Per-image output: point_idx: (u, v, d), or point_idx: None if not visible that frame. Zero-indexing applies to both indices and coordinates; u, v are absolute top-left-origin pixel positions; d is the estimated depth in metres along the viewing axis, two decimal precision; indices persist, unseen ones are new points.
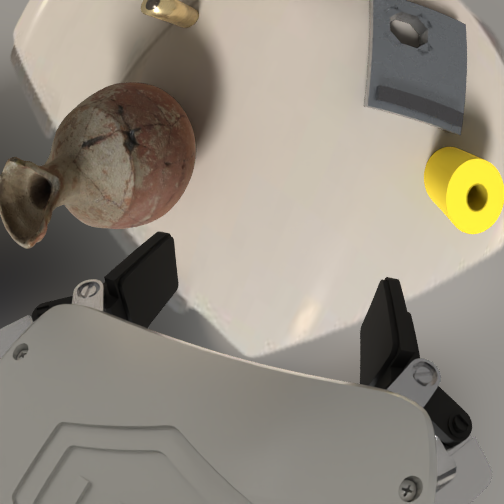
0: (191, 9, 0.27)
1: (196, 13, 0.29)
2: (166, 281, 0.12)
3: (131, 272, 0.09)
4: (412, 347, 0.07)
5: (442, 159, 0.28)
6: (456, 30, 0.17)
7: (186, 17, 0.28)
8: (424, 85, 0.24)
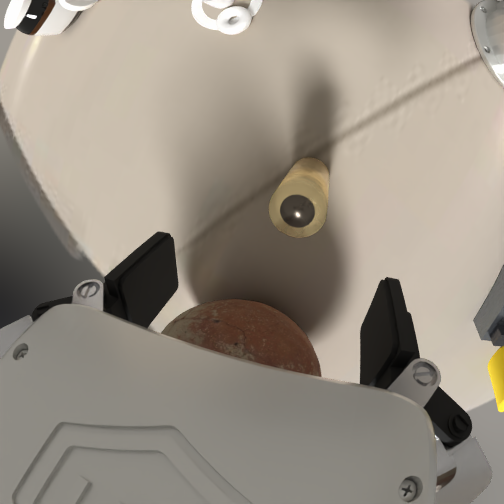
0: (328, 179, 0.24)
1: None
2: (166, 281, 0.12)
3: (131, 272, 0.09)
4: (412, 347, 0.07)
5: None
6: None
7: None
8: None
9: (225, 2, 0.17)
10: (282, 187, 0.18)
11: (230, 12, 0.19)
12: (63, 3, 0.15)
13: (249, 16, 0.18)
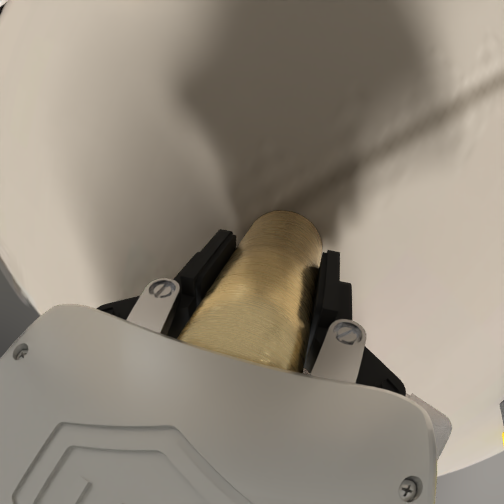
0: (318, 266, 0.12)
1: None
2: None
3: (207, 270, 0.10)
4: (335, 307, 0.08)
5: None
6: None
7: None
8: None
9: None
10: None
11: None
12: None
13: None
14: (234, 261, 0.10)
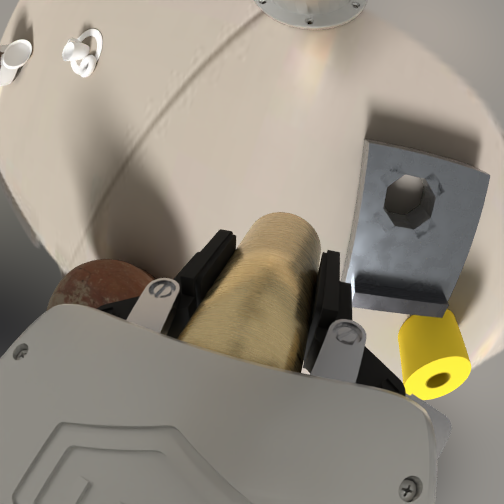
0: (316, 268, 0.12)
1: (319, 257, 0.13)
2: None
3: (207, 270, 0.10)
4: (335, 307, 0.08)
5: (415, 336, 0.30)
6: (475, 189, 0.20)
7: None
8: (411, 274, 0.26)
9: (79, 56, 0.25)
10: None
11: (84, 61, 0.26)
12: (6, 65, 0.23)
13: (92, 61, 0.26)
14: (233, 263, 0.10)
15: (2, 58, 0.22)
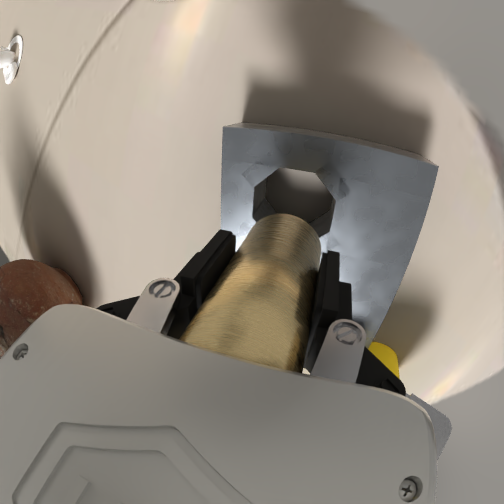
0: (317, 270, 0.12)
1: (320, 258, 0.13)
2: None
3: (207, 270, 0.10)
4: (335, 307, 0.08)
5: None
6: (409, 189, 0.15)
7: None
8: None
9: (4, 64, 0.18)
10: None
11: (9, 68, 0.19)
12: None
13: (13, 68, 0.19)
14: (234, 265, 0.10)
15: None
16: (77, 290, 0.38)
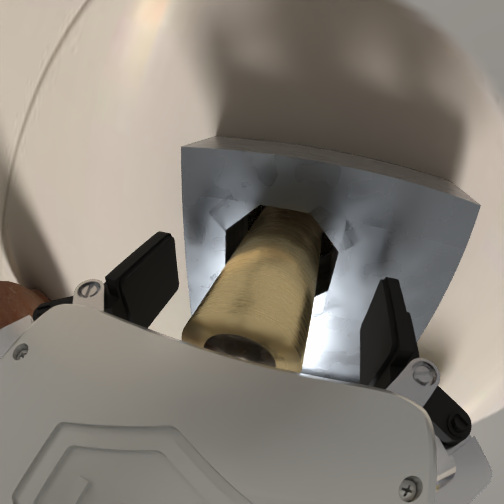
0: (320, 242, 0.14)
1: None
2: (167, 281, 0.12)
3: (132, 272, 0.09)
4: (411, 347, 0.07)
5: None
6: (440, 237, 0.10)
7: None
8: None
9: None
10: (200, 318, 0.08)
11: None
12: None
13: None
14: (252, 233, 0.12)
15: None
16: None
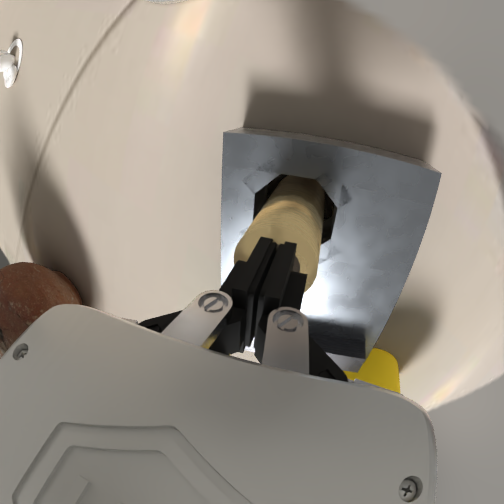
0: (323, 204, 0.18)
1: None
2: None
3: (258, 280, 0.09)
4: (277, 295, 0.08)
5: None
6: (411, 196, 0.14)
7: None
8: (308, 313, 0.21)
9: (4, 67, 0.18)
10: (251, 233, 0.12)
11: (9, 72, 0.19)
12: None
13: (12, 72, 0.19)
14: (275, 194, 0.17)
15: None
16: (77, 293, 0.38)
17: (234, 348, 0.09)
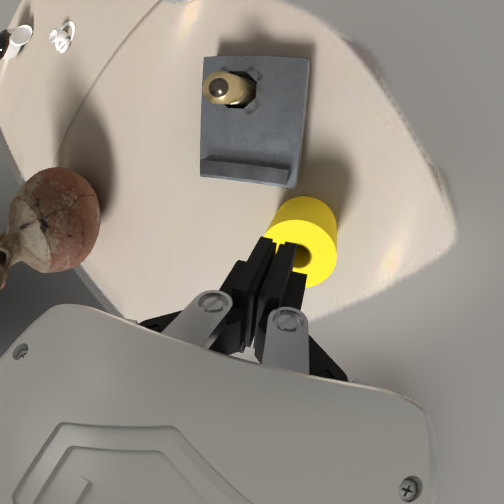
0: (253, 87, 0.32)
1: None
2: None
3: (258, 280, 0.09)
4: (278, 295, 0.08)
5: (275, 215, 0.39)
6: (293, 71, 0.28)
7: (249, 99, 0.32)
8: (250, 147, 0.35)
9: (60, 39, 0.32)
10: (209, 75, 0.26)
11: (63, 42, 0.33)
12: (13, 42, 0.29)
13: (67, 42, 0.33)
14: None
15: (10, 38, 0.28)
16: (97, 196, 0.51)
17: (234, 348, 0.09)
